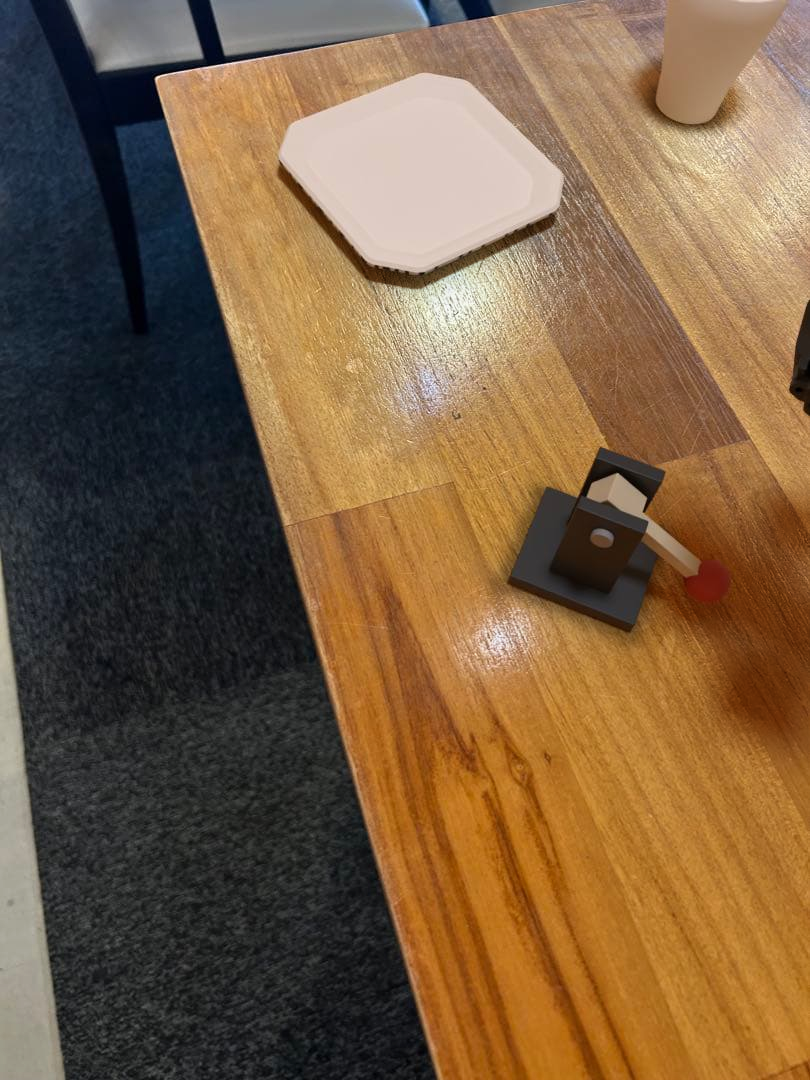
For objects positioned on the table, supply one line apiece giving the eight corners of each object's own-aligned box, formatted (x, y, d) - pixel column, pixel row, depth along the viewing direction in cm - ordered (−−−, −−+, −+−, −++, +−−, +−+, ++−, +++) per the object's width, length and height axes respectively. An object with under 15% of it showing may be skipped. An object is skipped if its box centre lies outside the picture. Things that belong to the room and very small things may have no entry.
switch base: (660, 539, 69) (707, 465, 60) (630, 632, 65) (675, 568, 57) (543, 494, 70) (573, 415, 62) (507, 583, 66) (533, 513, 58)
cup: (621, 122, 91) (664, -19, 79) (645, 58, 95) (690, -84, 84) (728, 153, 89) (788, 15, 78) (748, 87, 94) (807, -52, 82)
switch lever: (709, 578, 66) (744, 570, 64) (698, 614, 65) (734, 607, 62) (590, 479, 62) (622, 466, 60) (576, 515, 61) (609, 503, 58)
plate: (581, 213, 84) (587, 193, 82) (388, 305, 78) (389, 285, 76) (446, 80, 92) (449, 59, 90) (259, 153, 85) (258, 132, 83)
